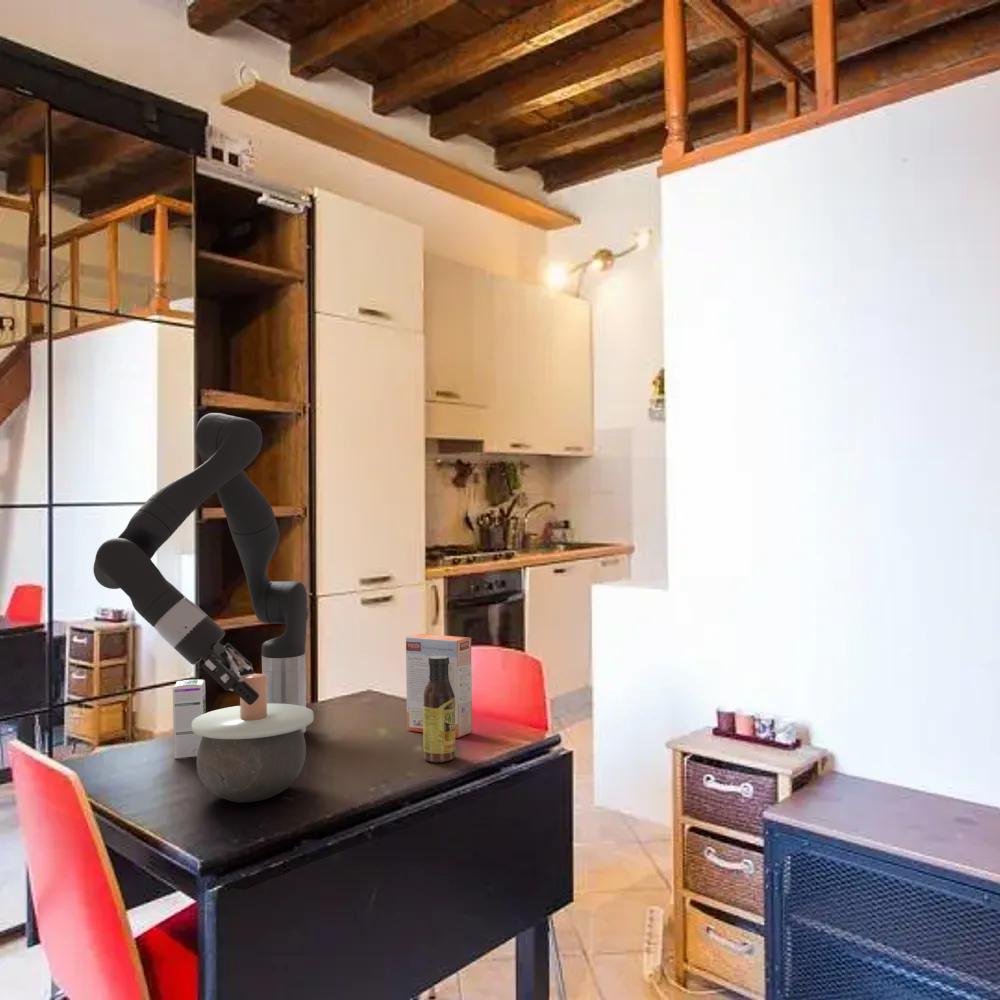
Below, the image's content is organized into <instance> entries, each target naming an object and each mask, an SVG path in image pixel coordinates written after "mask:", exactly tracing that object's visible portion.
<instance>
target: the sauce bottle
mask: <svg viewBox="0 0 1000 1000" xmlns="http://www.w3.org/2000/svg"><path fill="white" fill-rule="evenodd" d="M428 660H429V673H430V674H429V675H430V676H429V679H430V680H429V682H428V685H427V686H426V687H425V690H424V705H423V733H422V734H423V735H422V736H423V737H422V738H423V740H422V741H423V744H422V745H423V746H422V747H423V758H424V759H425V761H426V762H429V761H430V763H439V762H440V763H445V762H450V761H452V760H453V759H454V758H455V752H456V738H455V696H454V693H453V690H452V687H451V684H450V682H449V676H448V665H449V657H448V656H431V657H429V659H428Z"/></svg>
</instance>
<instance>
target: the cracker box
mask: <svg viewBox="0 0 1000 1000" xmlns="http://www.w3.org/2000/svg"><path fill="white" fill-rule="evenodd" d="M431 656H448V657H449V665H448V676H449V682H450V684H451V687H452V690H453V693H454V696H455V739H460V738H463V737H464V736H466V735H469V734H472V733H473V692H472V690H473V684H472V683H473V681H472V678H473V677H472V672H473V671H472V637H468V636H467V637H466V636H465V637H464V636H452V635H443V634H441V635H440V634H431V633H430V634H428V633H417V634H412V635H408V636H406V637H405V660H406V661H405V662H406V663H405V664H406V665H405V668H406V669H405V670H406V671H405V673H406V683H405V684H406V730H407V731H409V732H414V733H415V732H416V733H421V734H423V705H424V690H425V687H426V686H427V685H428V682H429V680H430V679H429V676H430V675H429V674H430V673H429V660H428V659H429V657H431Z"/></svg>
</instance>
